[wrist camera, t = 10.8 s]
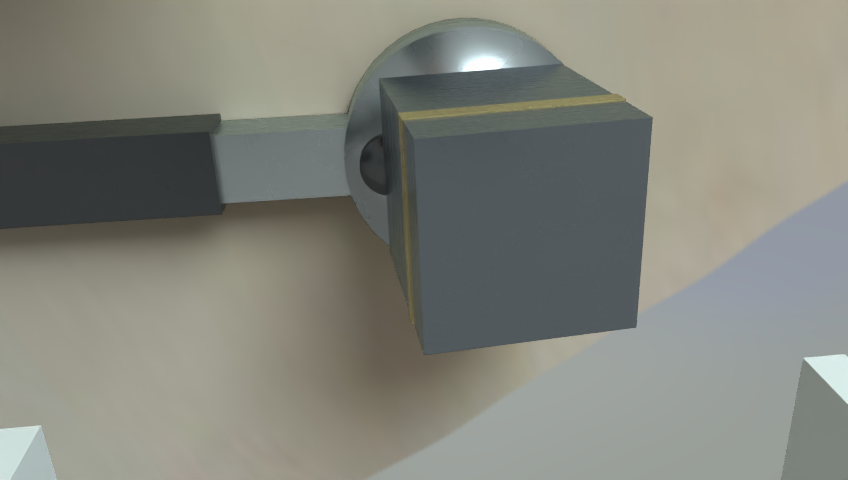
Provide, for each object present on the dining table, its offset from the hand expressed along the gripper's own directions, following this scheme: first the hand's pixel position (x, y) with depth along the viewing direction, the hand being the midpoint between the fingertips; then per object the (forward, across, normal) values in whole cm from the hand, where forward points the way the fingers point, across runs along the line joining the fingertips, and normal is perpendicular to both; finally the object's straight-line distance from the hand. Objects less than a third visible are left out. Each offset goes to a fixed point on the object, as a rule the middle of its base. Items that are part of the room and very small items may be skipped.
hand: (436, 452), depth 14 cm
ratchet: (+21, -5, -1) cm, 22 cm away
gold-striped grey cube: (+18, +3, -1) cm, 19 cm away
